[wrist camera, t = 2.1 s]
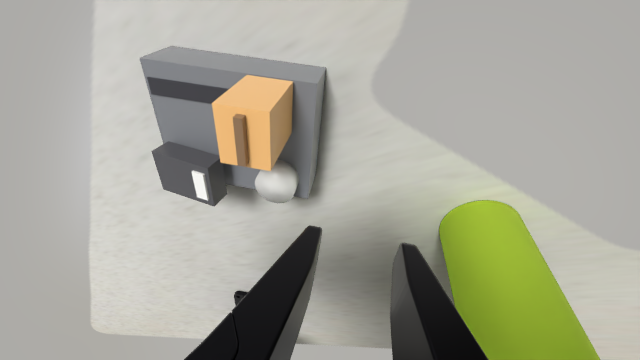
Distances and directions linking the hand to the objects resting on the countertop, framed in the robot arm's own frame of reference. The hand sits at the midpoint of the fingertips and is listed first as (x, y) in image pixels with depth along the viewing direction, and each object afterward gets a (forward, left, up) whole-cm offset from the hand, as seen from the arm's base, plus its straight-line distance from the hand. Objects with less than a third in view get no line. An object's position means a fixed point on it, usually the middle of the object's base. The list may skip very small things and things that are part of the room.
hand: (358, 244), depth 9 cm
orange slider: (0, +5, -9) cm, 10 cm away
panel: (-3, +8, -12) cm, 15 cm away
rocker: (-5, +11, -8) cm, 14 cm away
